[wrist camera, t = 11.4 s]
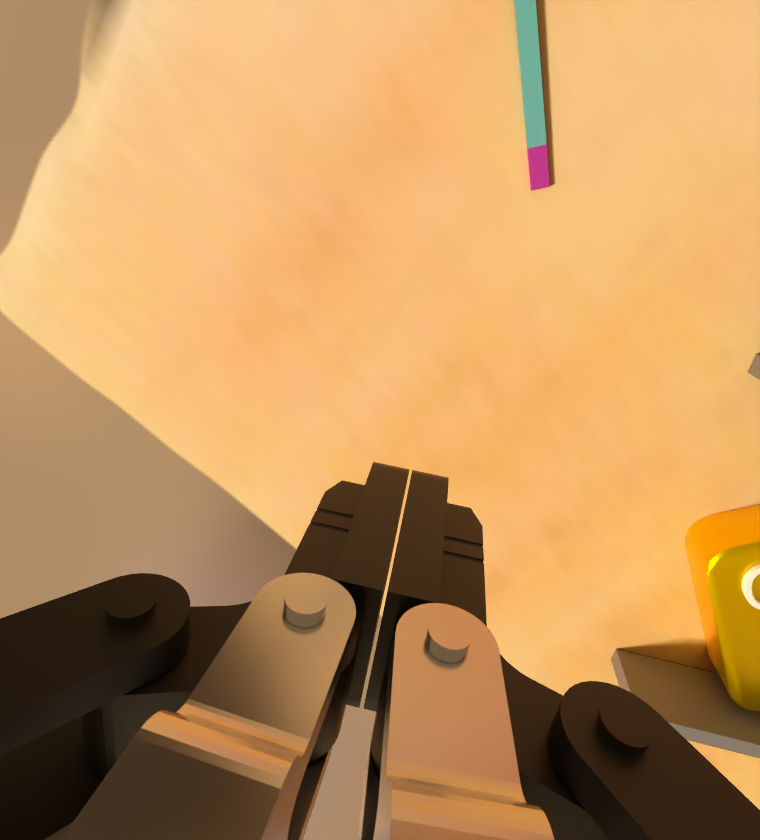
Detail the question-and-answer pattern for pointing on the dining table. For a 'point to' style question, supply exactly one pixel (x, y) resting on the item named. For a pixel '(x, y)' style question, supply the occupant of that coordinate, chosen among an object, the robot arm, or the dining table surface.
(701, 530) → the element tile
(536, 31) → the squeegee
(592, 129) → the dining table surface
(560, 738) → the robot arm
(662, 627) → the dining table surface
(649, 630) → the dining table surface
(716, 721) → the bin
